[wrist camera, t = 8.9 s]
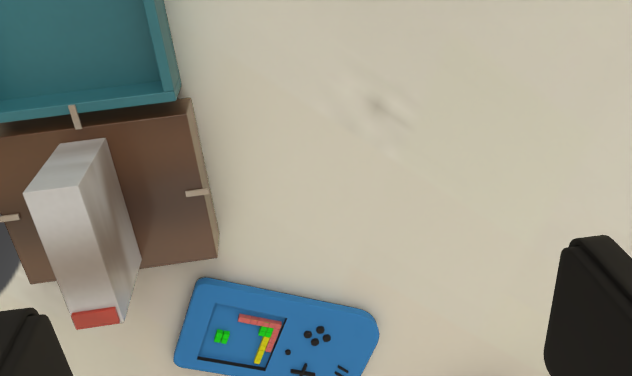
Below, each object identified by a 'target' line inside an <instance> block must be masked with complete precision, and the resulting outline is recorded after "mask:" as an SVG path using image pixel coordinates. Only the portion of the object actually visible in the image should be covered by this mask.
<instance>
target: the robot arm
mask: <svg viewBox="0 0 632 376" xmlns="http://www.w3.org/2000/svg"><path fill="white" fill-rule="evenodd" d="M544 361H545V365H546V368H547V370H548V372H549V374H550V375H551V376H632V258H631V257H630V256H629V255H628V254H627V253H626V252H625V251H624V250H623V249H622V248H621V247H620V246H619V245H618V244H617V243H616V242H615V241H614V240H613V239H611V238H610V237H609V236H606V235H600V236H592V237H584V238H576V239H573V240H572V241H571V242H570V245H569V247H568V248H564V249H563V250H562V252H561V256H560V262H559V267H558V273H557V279H556V284H555V290H554V296H553V301H552V307H551V313H550V318H549V324H548V330H547V335H546V341H545V347H544ZM0 376H73V374H72V372H71V370H70V367H69V365H68V362H67V360H66V358H65V355H64V353H63V350H62V348H61V346H60V343H59V341H58V339H57V336H56V334H55V331H54V329H53V327H52V324H51V322H50V320H49V318H48V316H46V315H39V314H38V312H37V311H36V310H35V309H34V308H24V309H16V310H8V311H0Z"/></svg>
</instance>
